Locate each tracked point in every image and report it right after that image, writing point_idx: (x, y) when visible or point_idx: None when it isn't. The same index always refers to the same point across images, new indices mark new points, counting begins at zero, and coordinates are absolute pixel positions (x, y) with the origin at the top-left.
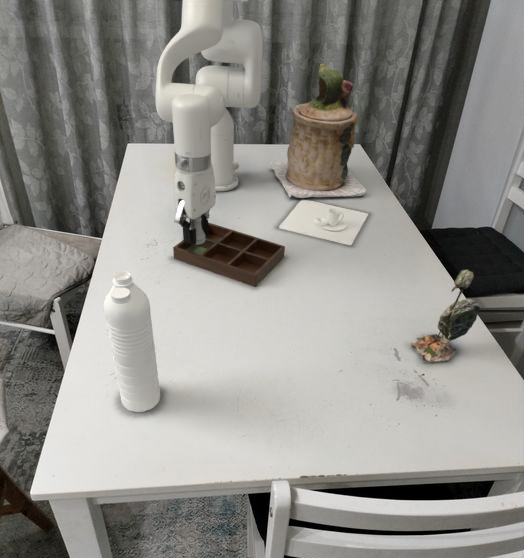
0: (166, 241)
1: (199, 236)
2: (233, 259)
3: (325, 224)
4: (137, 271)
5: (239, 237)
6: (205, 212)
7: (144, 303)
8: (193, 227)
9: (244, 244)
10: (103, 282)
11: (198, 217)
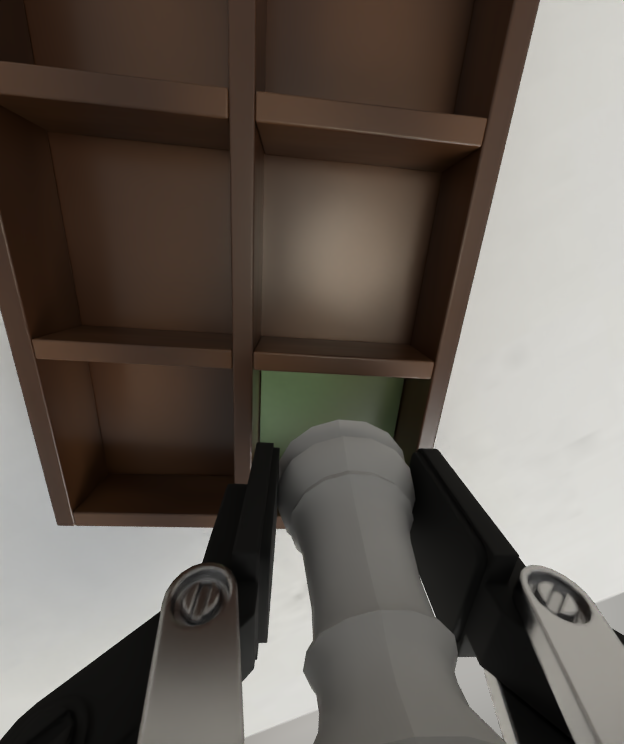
0: (281, 567)
1: (388, 470)
2: (403, 123)
3: None
4: (525, 538)
5: (42, 272)
6: (242, 708)
7: None
8: (531, 588)
9: (66, 229)
10: (616, 579)
11: (444, 697)
